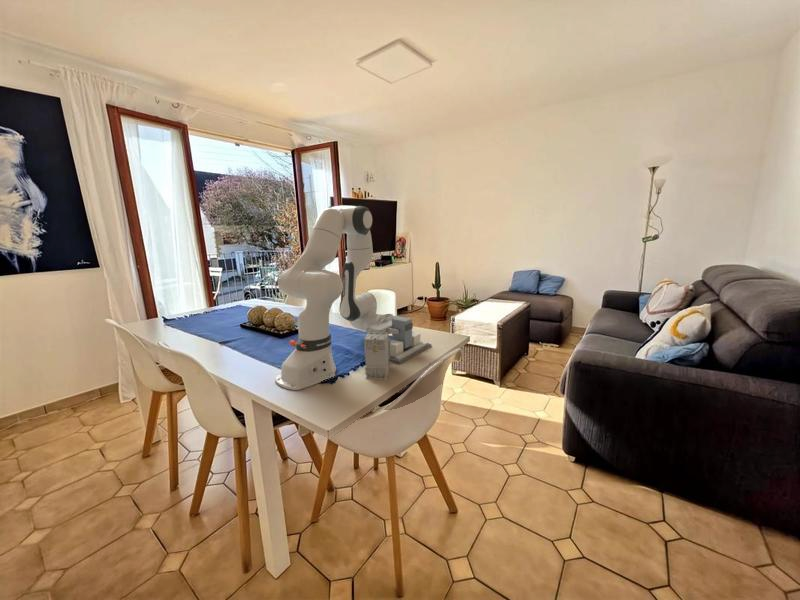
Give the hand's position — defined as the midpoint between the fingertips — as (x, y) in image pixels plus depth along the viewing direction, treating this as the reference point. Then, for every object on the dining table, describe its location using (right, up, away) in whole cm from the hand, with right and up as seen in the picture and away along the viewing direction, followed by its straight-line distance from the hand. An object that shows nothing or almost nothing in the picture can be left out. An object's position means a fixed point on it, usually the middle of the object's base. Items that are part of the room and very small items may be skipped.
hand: (403, 329), depth 141 cm
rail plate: (0, -9, +2) cm, 10 cm away
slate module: (-1, -7, +2) cm, 7 cm away
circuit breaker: (-10, -14, -16) cm, 24 cm away
